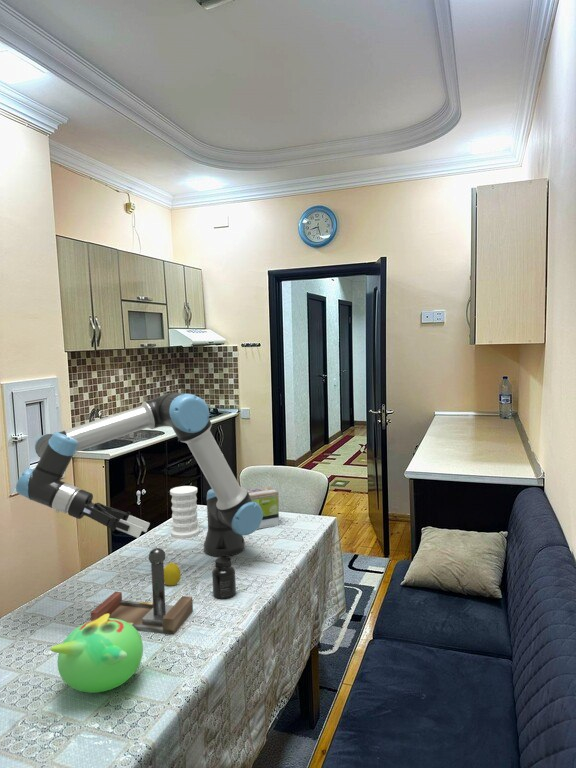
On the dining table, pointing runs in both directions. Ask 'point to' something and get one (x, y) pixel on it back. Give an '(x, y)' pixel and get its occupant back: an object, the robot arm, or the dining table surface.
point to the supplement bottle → (224, 579)
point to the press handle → (157, 590)
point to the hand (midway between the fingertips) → (144, 530)
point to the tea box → (266, 505)
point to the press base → (144, 613)
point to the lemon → (172, 574)
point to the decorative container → (184, 512)
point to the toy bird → (99, 655)
